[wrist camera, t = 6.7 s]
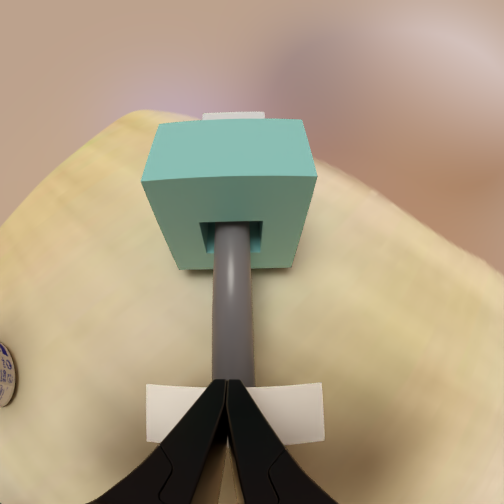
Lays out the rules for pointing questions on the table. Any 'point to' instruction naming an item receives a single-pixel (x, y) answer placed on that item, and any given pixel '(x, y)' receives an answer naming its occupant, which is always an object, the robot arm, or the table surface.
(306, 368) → the table surface
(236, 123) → the teal block with hole
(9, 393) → the beverage can
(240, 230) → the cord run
